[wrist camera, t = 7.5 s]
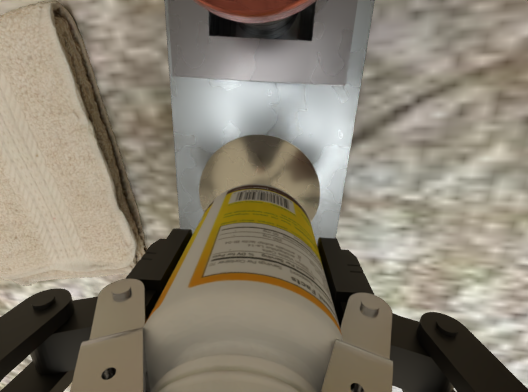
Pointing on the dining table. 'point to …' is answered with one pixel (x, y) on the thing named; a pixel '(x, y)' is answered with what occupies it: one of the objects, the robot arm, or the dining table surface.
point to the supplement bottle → (245, 302)
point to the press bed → (266, 106)
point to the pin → (258, 14)
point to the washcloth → (58, 158)
